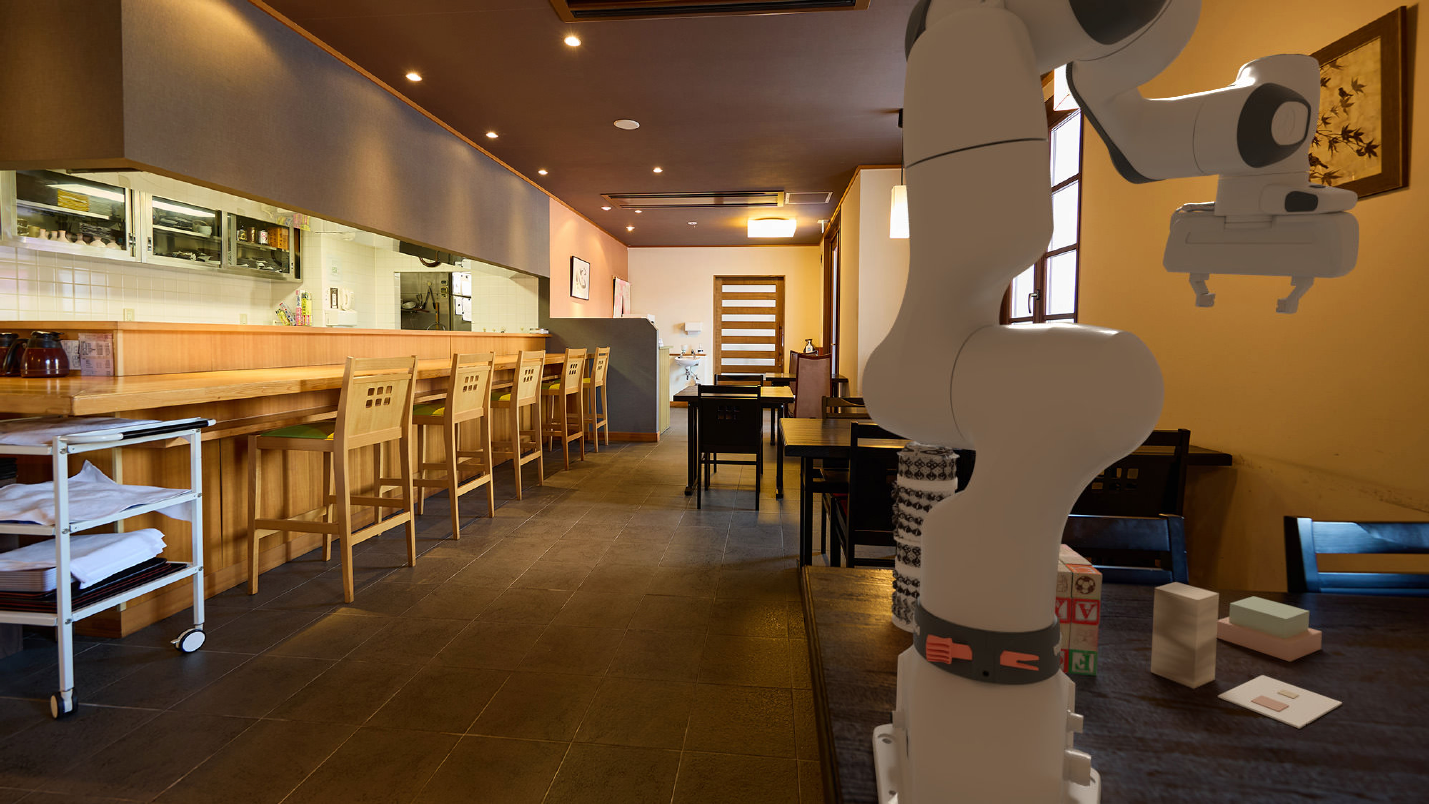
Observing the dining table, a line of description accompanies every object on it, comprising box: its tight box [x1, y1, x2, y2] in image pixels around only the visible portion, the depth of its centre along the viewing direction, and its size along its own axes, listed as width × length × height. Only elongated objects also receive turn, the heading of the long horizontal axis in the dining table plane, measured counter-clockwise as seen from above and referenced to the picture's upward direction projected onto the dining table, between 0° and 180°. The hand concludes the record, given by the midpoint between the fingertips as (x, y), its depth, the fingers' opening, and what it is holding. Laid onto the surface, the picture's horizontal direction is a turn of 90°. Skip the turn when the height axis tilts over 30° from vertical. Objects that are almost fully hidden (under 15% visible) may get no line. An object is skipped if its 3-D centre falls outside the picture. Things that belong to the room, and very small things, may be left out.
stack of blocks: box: [1055, 543, 1103, 677], centre depth 87 cm, size 21×6×12 cm, turn 169°
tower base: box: [1217, 595, 1323, 662], centre depth 86 cm, size 8×8×5 cm
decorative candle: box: [890, 441, 960, 634], centre depth 91 cm, size 9×9×25 cm
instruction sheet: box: [1217, 674, 1343, 730], centre depth 71 cm, size 10×7×1 cm
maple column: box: [1150, 581, 1220, 689], centre depth 76 cm, size 4×4×10 cm
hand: (1243, 309), depth 87 cm, fingers open, 8 cm apart
